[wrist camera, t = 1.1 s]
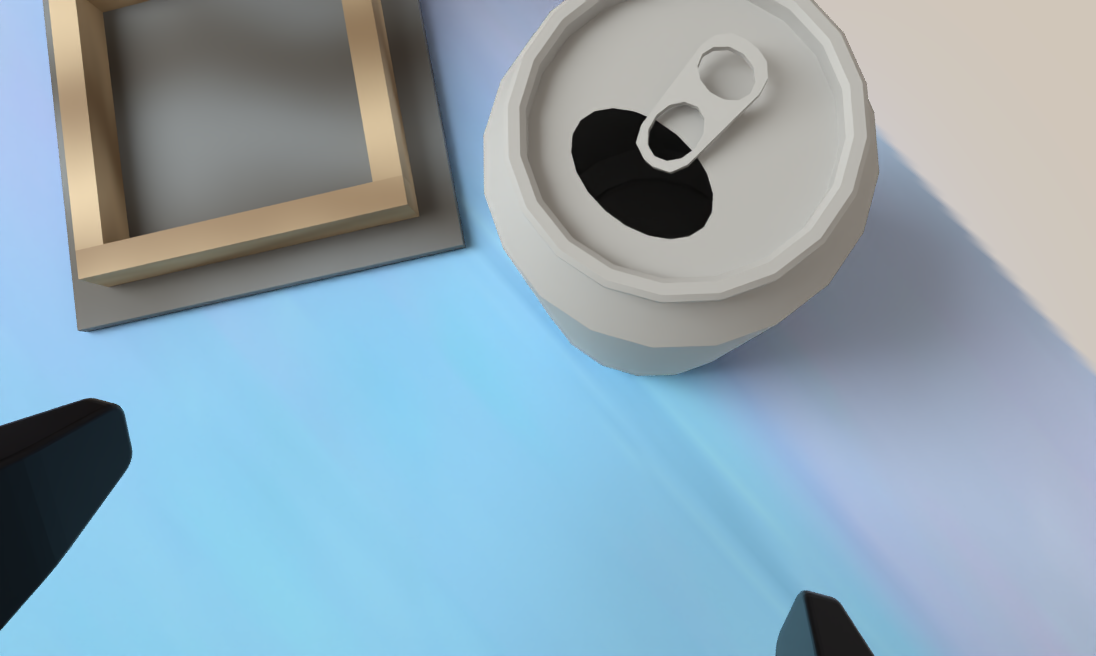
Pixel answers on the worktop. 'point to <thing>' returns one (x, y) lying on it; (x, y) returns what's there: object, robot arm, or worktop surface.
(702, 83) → the can
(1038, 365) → the worktop surface
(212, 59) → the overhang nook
